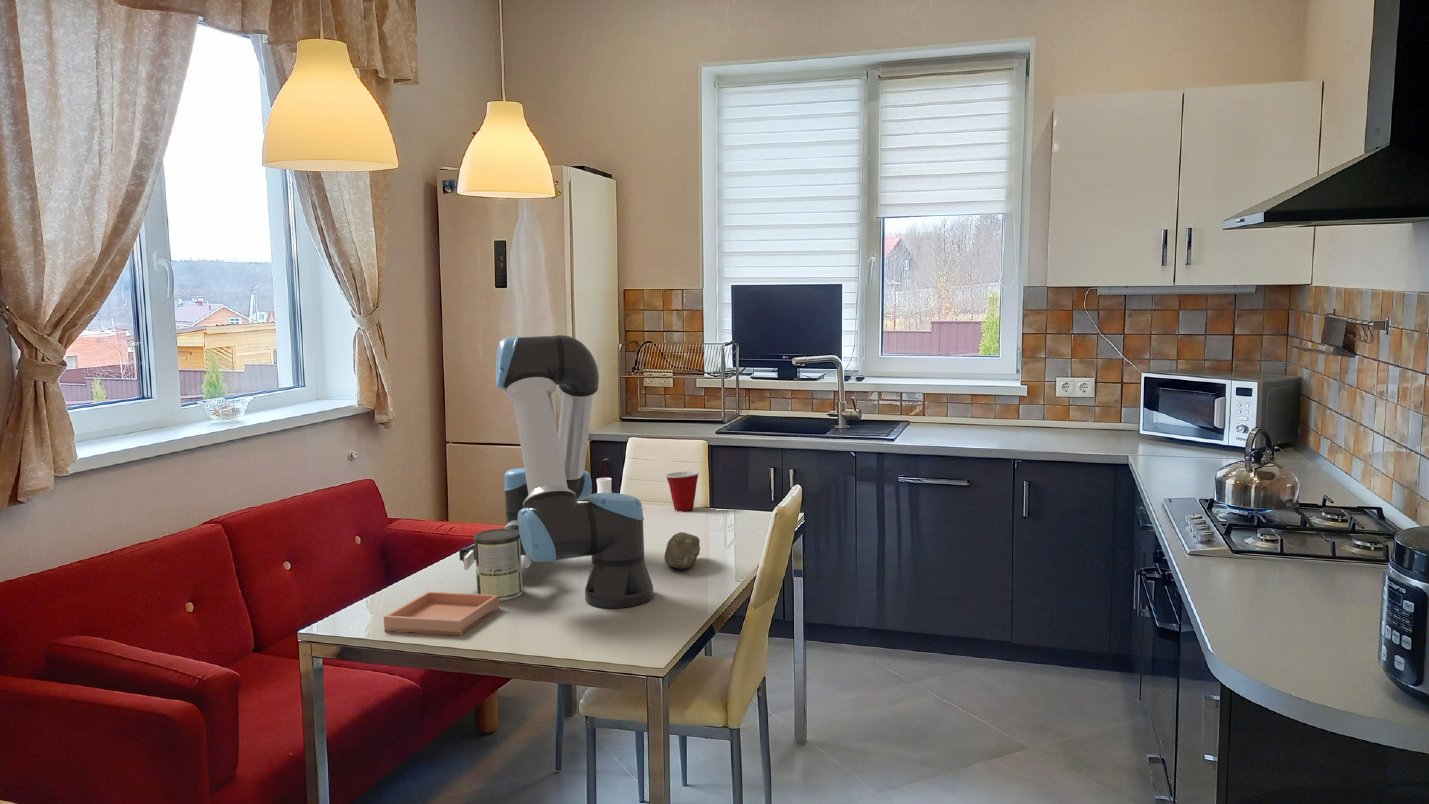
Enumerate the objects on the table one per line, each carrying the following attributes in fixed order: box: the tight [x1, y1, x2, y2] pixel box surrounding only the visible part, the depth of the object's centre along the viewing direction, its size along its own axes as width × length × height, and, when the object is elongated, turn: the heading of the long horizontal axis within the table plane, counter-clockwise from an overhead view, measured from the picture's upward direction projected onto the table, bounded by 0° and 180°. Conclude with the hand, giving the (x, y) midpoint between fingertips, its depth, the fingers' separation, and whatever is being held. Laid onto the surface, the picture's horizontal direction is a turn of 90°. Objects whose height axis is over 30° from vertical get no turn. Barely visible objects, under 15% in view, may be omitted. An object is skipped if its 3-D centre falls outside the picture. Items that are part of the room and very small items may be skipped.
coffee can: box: [473, 528, 524, 602], centre depth 215 cm, size 10×10×14 cm
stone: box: [664, 531, 701, 570], centre depth 235 cm, size 17×9×8 cm, turn 178°
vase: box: [596, 477, 613, 493], centre depth 301 cm, size 8×8×10 cm
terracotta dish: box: [383, 591, 500, 637], centre depth 199 cm, size 17×17×3 cm
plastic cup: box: [664, 470, 700, 512], centre depth 297 cm, size 11×11×12 cm
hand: (496, 562), depth 213 cm, fingers open, 13 cm apart
